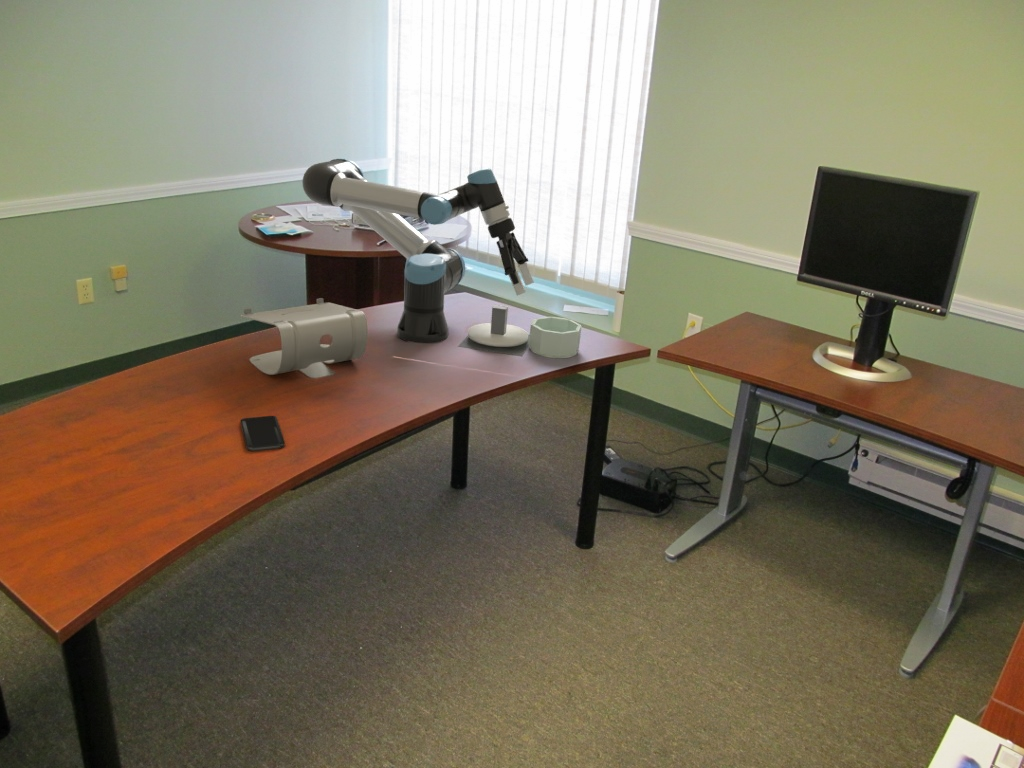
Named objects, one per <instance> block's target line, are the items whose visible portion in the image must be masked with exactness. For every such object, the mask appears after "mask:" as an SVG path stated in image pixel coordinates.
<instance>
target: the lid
mask: <svg viewBox="0 0 1024 768" xmlns="http://www.w3.org/2000/svg"><path fill="white" fill-rule="evenodd" d="M491 309H492V310H491V319H490V320H491V322H485V323H478V324H474V325H472V326H470V327H469V328H468V329H467V336H468V337H469V338H470V339H471V340H473V341H475V342H478V343H480V344H484V345H489V346H496V347H511V346H518V345H521V344H524V343H526V342H527V341H528V336H529V335H530V334H529V333H528V331H526V330H525V329H523V328H522V327H519V326H516V325H514V324H510V323H509V324H508V312H509V311H508V310H509V306H506V305H501V304H499V305H498V304H494V305H493V306H492V308H491Z"/></svg>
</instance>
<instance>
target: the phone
mask: <svg viewBox="0 0 1024 768" xmlns="http://www.w3.org/2000/svg"><path fill="white" fill-rule="evenodd" d="M240 425H241V430H242V436H243V438H244V439H243V440H244V443H245V448H246V451H247V452H252V453H253V452H262V451H263V452H264V451H271V450H273V451H274V450H279V449H280V450H281V449H284V448H285V447H286V442H285V439H284V436H283V431H282V428H281V426H280V424H279V419H278V417H277V416H275V415H266V416H265V415H264V416H254V417H244V418H241V419H240Z"/></svg>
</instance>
